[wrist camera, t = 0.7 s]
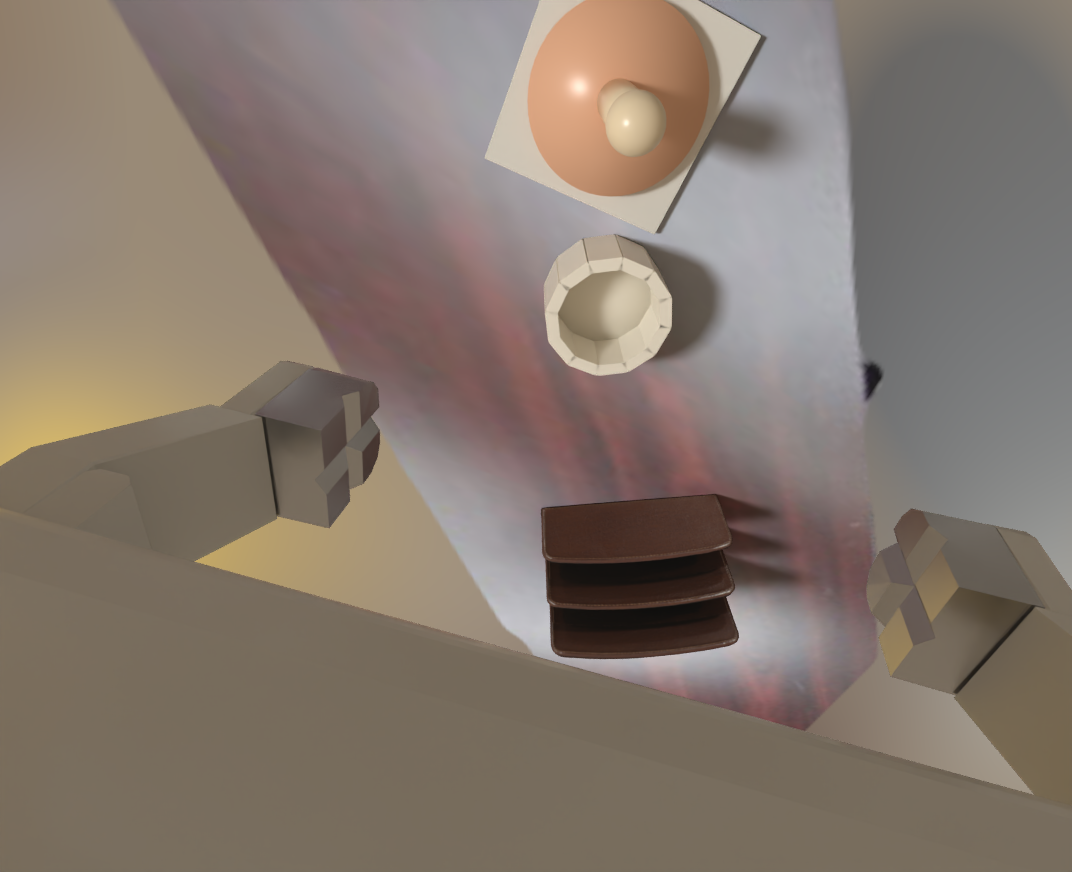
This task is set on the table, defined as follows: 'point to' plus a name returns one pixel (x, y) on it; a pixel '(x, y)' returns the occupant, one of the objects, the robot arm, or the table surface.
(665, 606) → the letter holder
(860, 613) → the table surface
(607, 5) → the salmon dome
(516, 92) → the mat
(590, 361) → the bowl
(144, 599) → the robot arm
